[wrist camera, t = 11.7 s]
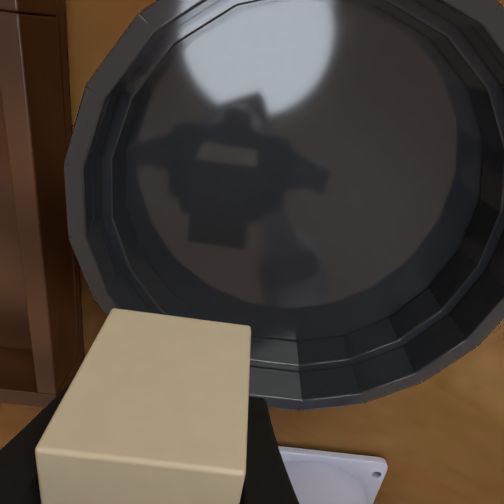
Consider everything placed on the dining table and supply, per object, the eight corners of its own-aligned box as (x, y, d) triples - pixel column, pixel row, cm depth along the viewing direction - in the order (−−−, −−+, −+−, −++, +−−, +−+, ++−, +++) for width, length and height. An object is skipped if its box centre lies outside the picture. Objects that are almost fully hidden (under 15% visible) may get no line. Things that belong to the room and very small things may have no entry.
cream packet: (227, 460, 13) (214, 627, 9) (112, 447, 13) (53, 611, 9) (251, 324, 10) (246, 473, 7) (111, 306, 10) (32, 449, 7)
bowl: (425, 364, 21) (458, 429, 17) (108, 326, 20) (77, 386, 17) (574, 3, 14) (676, -8, 10) (100, -72, 13) (44, -110, 10)
